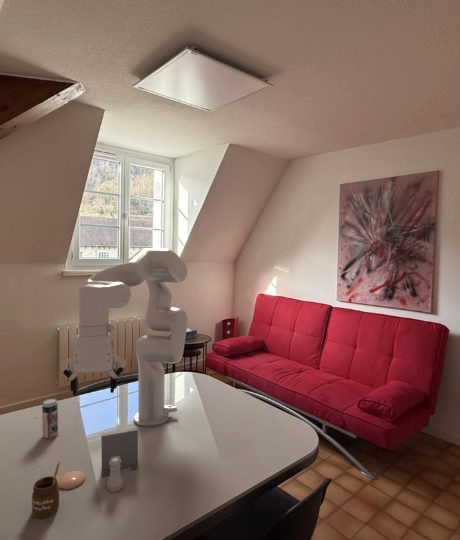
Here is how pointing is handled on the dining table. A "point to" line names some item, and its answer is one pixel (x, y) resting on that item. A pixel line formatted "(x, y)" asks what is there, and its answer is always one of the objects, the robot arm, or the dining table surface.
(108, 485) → the rook chess piece
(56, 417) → the beer can
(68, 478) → the pink round domed part
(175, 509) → the dining table surface
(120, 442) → the grey upright panel
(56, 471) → the utensil holder
